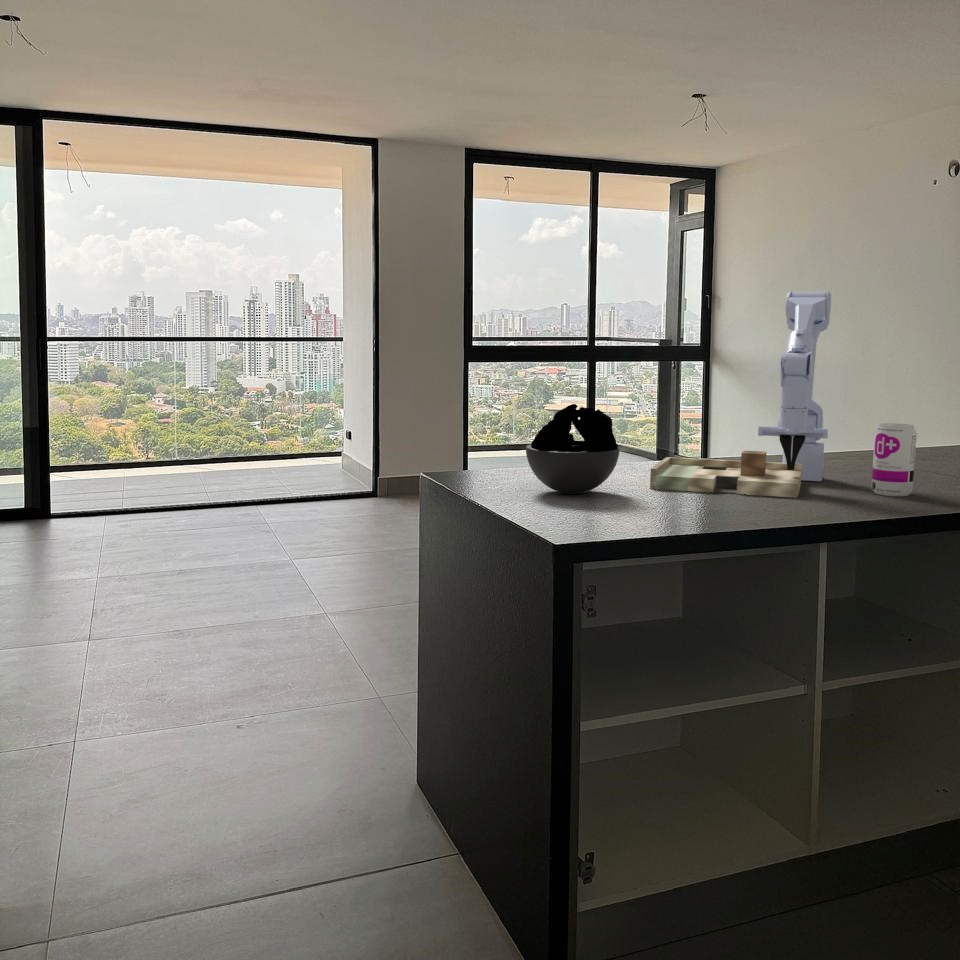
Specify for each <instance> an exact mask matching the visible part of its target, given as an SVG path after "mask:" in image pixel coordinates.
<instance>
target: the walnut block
mask: <svg viewBox="0 0 960 960" xmlns="http://www.w3.org/2000/svg"><path fill="white" fill-rule="evenodd" d="M740 458H741V459H740V461H741V475H742V476H760V477H764V475H765V471H766V462H767V451H764V450H763V451H759V450H742V452H741V456H740Z"/></svg>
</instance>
